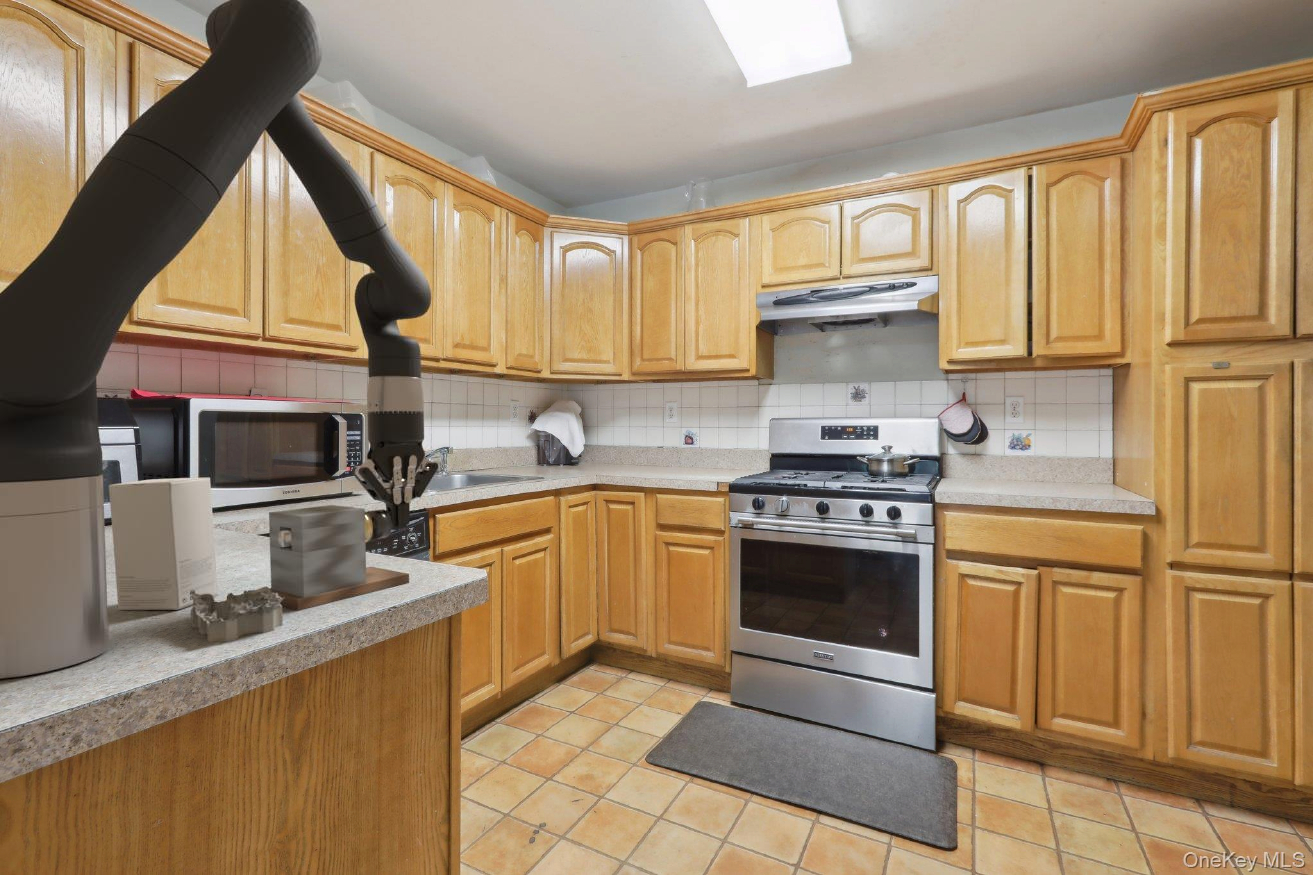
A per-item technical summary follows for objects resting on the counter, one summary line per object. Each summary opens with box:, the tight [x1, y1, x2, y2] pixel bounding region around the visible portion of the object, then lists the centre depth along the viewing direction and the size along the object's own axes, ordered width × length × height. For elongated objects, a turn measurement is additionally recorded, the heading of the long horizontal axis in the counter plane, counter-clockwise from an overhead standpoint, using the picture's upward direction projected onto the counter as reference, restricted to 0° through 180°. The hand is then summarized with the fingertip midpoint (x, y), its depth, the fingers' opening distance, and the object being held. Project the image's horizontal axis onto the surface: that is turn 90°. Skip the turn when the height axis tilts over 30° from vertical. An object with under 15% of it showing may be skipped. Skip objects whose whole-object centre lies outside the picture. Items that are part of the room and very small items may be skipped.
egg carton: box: [189, 586, 285, 643], centre depth 68 cm, size 11×8×4 cm
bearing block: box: [268, 504, 410, 611], centre depth 82 cm, size 15×9×11 cm, turn 147°
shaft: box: [278, 508, 392, 547], centre depth 82 cm, size 14×4×4 cm, turn 147°
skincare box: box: [108, 477, 219, 611], centre depth 77 cm, size 8×7×16 cm
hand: (398, 529), depth 90 cm, fingers closed
